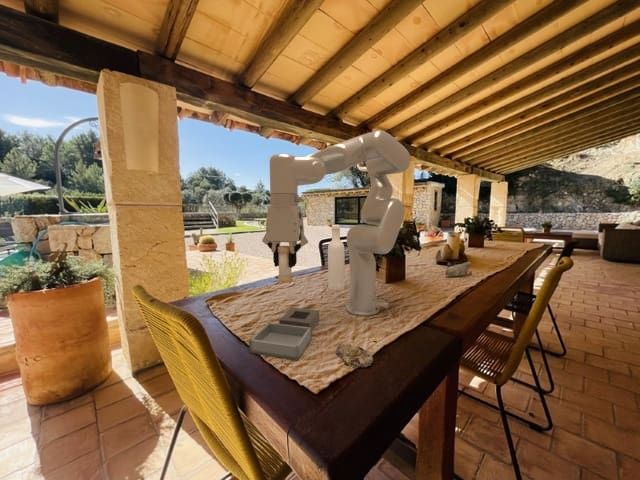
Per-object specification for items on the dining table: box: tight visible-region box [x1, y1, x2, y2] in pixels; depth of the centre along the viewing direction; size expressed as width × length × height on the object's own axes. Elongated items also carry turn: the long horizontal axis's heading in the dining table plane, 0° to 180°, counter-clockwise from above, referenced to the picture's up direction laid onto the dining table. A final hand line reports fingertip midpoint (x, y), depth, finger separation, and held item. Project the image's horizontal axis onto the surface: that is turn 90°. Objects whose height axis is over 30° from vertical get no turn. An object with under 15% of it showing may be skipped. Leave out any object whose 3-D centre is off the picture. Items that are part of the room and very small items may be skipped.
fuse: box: [277, 245, 293, 284], centre depth 73 cm, size 4×4×10 cm
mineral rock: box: [335, 343, 374, 369], centre depth 66 cm, size 11×4×8 cm
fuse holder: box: [278, 307, 320, 331], centre depth 84 cm, size 10×10×4 cm
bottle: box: [327, 224, 346, 292], centre depth 120 cm, size 8×8×30 cm
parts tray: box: [248, 322, 313, 361], centre depth 72 cm, size 14×11×4 cm
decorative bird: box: [445, 261, 473, 279], centre depth 138 cm, size 5×16×8 cm, turn 109°
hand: (285, 265), depth 73 cm, fingers closed on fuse, 3 cm apart
